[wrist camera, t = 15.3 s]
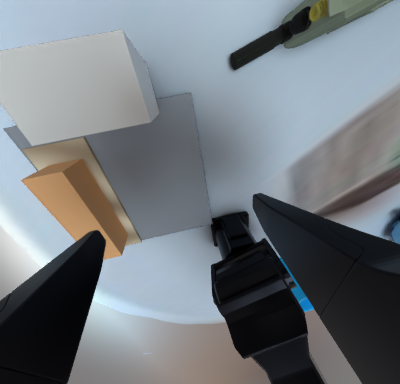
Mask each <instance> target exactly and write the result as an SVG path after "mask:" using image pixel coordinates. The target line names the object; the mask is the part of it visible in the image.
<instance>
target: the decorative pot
mask: <svg viewBox="0 0 400 384" xmlns="http://www.w3.org/2000/svg"><path fill="white" fill-rule="evenodd" d="M391 227H392V228H394V229H393V231H392V234H391V235H392V237H393V239H394V241H395V243H398V244H400V220H397V221H396V222H394V223H393V224H392V226H391Z"/></svg>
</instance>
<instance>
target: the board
mask: <svg viewBox="0 0 400 384" xmlns="http://www.w3.org/2000/svg"><path fill="white" fill-rule="evenodd" d="M156 102H157V105H158V109H159V114H158V115H157V116H156V118H155V119H154V120H153V121H152V122H151V123H146V124H140V125H135V126H130V127H125V128H120V129H115V130H110V131H105V132H100V133H95V134H90V135H85V136H80V137H75V138H70V139H65V140H60V141H55V142H50V143H45V144H40V145H35V146H32V145H31V144H30V143H29V141H28V140H27V139H26V137H25V136H24V135H23V133H22V132H21V131H20V129H19V128H18V127H17V126H15V127H9V128H4V131H5V132H6V133H7V134H8V135H9V137H10V138H11V139H12V140H13V142H14V143H15V144H16V145H17V147H18V148H19V149H20V150H21V152H22V153H23V154H24V155H25V157H26V158H27V159H28V160H29V161H30V159H29V158H28V157H27V156H26V154H25V153H24V152H23V151H22V149H26V148H31V147H36V146H41V145H46V144H51V143H56V142H61V141H66V140H71V139H76V138H81V137H85V138H86V139H87V141H88V143H89V145H90V147H91V148H92V150H93V152H94V154H95V156H96V158H97V159H98V161H99V163H100V165H101V167H102V168H103V170H104V172H105V174H106V176H107V178H108V179H109V181H110V183H111V185H112V187H113V188H114V190H115V192H116V194H117V196H118V198H119V199H120V201H121V203H122V205H123V207H124V208H125V210H126V212H127V214H128V216H129V218H130V219H131V221H132V223H133V225H134V227H135V229H136V230H137V232H138V234H139V236H140V238H141V239H142V240H145V239H149V238H153V237H158V236H162V235H166V234H171V233H175V232H179V231H184V230H188V229H192V228H197V227H201V226H205V225H210V224H212V218H211V212H210V206H209V199H208V193H207V187H206V181H205V175H204V169H203V162H202V156H201V150H200V144H199V138H198V132H197V125H196V119H195V113H194V107H193V101H192V95H191V93H186V94H181V95H176V96H171V97H166V98H160V99H156ZM30 163H31V164H32V165H33V166H34V164H33V163H32V162H31V161H30ZM34 168H35V169H36V170H37V171H38V169H37V168H36V167H35V166H34Z"/></svg>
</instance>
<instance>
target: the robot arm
mask: <svg viewBox="0 0 400 384" xmlns="http://www.w3.org/2000/svg"><path fill="white" fill-rule="evenodd" d="M253 209H254V211H255V214H256V216H257V218H258V220H259V222H260V224H261V226H262V228H263V230H264V231H265V233H266V235H267V236H268V238H269V239H270V241H271V243H272V244H273V246H274V247H275V249H276V250H277V252H278V253H279V255H280V256H281V258H282V260H283V261H284V263H285V264H286V266H287V267H288V269H289V270H290V272H291V274H292V275H293V277H294V278H295V280H296V281H297V283H298V284H299V286H300V288H301V289H302V291H303V292H304V294H305V295H306V297H307V298H308V300H309V301H310V303H311V305H312V306H313V308H314V309H315V311H316V312H317V314H318V315H319V316H320V319H321V320H322V322H323V323H324V325H325V327H326V328H327V330H328V331H329V333H330V334H331V336H332V337H333V339H334V340H335V342H336V344H337V345H338V347H339V348H340V350H341V351H342V353H343V354H344V356H345V358H346V359H347V361H348V362H349V364H350V365H351V367H352V368H353V370H354V371H355V373H356V375H357V376H358V377H359V379H360V381H361V382H362V384H400V244H398V243H395V242H392V241H389V240H386V239H383V238H380V237H376V236H373V235H370V234H367V233H364V232H361V231H359V230H356V229H353V228H350V227H347V226H344V225H342V224H339V223H336V222H334V221H331V220H329V219H325V218H323V217H321V216H318V215H316V214H313V213H310V212H308V211H305V210H303V209H300V208H298V207H295V206H292V205H290V204H287V203H285V202H282V201H280V200H277V199H274V198H272V197H269V196H267V195H264V194H262V193H258V194H254V195H253ZM245 214H246V215H245ZM248 224H249V214H248V213H247V212H241V213H237V214H233V215H228V216H224V217H220V218H215V219H212V224H211V230H212V236H213V242H214V246H219V250H220V253H221V256H222V259H223V260H222V261H220V262H218V263H216V264H212V265H211V279H212V296H213V300H214V303H215V305H216V306H217V308H218V310H219V312H220V313H221V315H222V316H223V317H224V318H225V320H226V323H227V325H228V328H229V331H230V334H231V338H232V340H233V344H234V346H235V348H236V350H237V351H238V352H239V354H240V355H241V356H242V358H244V359H246V358H249V357H252V358H253V359H254V360H255V361H256V363H258V365H259V366H260V367H262V369H263V370H265V372H266V373H267V375H268V378H269V380H270V382H271V384H327V382H326V380H325V379H324V377H323V375H322V373H321V371H320V370H319V368H318V366H317V364H316V363H315V361H314V359H313V357H312V355H311V354H310V352H309V347H308V338H307V335H308V331H307V324H306V319H305V313H304V311H303V309H302V307H301V305H300V304H299V302H298V301H297V299H296V297H295V296H294V294H293V292H292V291H291V289H293V288H295V287H297V286H296V284H295V282H294V280H293V279H292V277H291V275H290V274H289V272H288V271H287V269H286V268H285V266H284V264H283V263H282V261H281V260H280V259H279V257H278V256H277V254H276V253H275V251H274V250H273V249H272V247H271V246H270V244H269V243H268V241H267V240H266V239H265V238H264V239H262V240H261V241H259V242H256V241H255V239H254V237H253V236H252V234H251V232H250V230H249V229H248ZM105 247H106V239H105V238H104V237H103V235H102V234H101V232H100V231H99V230H93V231H90V232H88V233H87V234H85V235H84V236H83V237H82V238H80V239H79V240H78V241H76V242H75V243H74V244H73V245H71V246H70V247H69V248H67V249H66V250H65V251H64V252H62V253H61V254H60V255H58V256H57V257H56V258H55V259H53V260H52V261H51V262H49V263H48V264H47V265H46V266H44V267H43V268H42V269H40V270H39V271H38V272H37V273H35V274H34V275H33V276H32V277H30V278H29V279H28V280H26V281H25V282H24V283H23V284H21V285H20V286H19V287H17V288H16V289H15V290H14V291H12V293H10V294H8V295H7V296H6V297H4V298H3V299H2V300H1V301H0V384H67V383H68V380H69V377H70V373H71V370H72V367H73V363H74V360H75V356H76V353H77V350H78V346H79V343H80V340H81V336H82V332H83V329H84V326H85V323H86V319H87V316H88V313H89V309H90V306H91V303H92V299H93V296H94V293H95V289H96V286H97V282H98V279H99V276H100V272H101V268H102V263H103V258H104V253H105Z"/></svg>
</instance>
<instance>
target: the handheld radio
mask: <svg viewBox="0 0 400 384" xmlns="http://www.w3.org/2000/svg"><path fill="white" fill-rule="evenodd" d="M391 1H393V0H305V1H304V2H302V3H301V4H300V5H299V6H298V7H296V8H295V9H294V10H293V11H292V12H290V13H289V14H288V15H287V16H286V17H285V18H284V20H283V22H282V25H281V26H279V28H277V29H276V30H274V31H270V32H269V33H267V34H265V35H263V36H262V37H260V38H258V39H256V40H255V41H253V42H251V43H249V44H248V45H246V46H244V47H242V48H241V49H239V50H237V51H236V52H234V53H232V54H231V56H230V59H231V65H232V67H233V69H234V70H236V69H238V68H240V67H242V66H244V65H245V64H247V63H249V62H251V61H252V60H254V59H256V58H258V57H260V56H261V55H263V54H265V53H267V52H268V51H270V50H272V49H274V47H275V46H277V45H279V44H283V43H284V47H285V48H293V47H297V46H300V45H302V44H304V43H306V42H308V41H310V40H312V39H314V38H316V37H318V36H321V35H323V34H325V33H327V34H328V33H330V32H332V31H334V30H336V29H338V28H340V27H342V26H344V25H346V24H348V23H350V22H352V21H354V20H356V19H358V18H360V17H363V16H365V15H367V14H369V13H371V12H374V11H375V10H377V9H378V8H380V7H382V6H384V5H386V4H387V3H389V2H391Z"/></svg>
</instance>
